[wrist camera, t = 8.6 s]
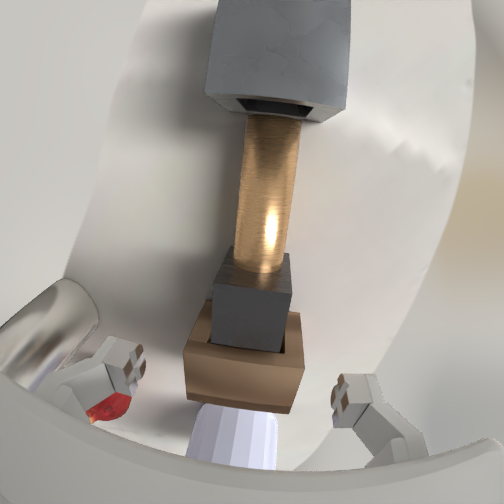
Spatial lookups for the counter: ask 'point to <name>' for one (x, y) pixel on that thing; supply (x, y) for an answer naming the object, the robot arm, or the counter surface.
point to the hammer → (259, 241)
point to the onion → (109, 408)
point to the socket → (243, 369)
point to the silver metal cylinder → (46, 333)
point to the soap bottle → (234, 437)
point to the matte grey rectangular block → (280, 57)
